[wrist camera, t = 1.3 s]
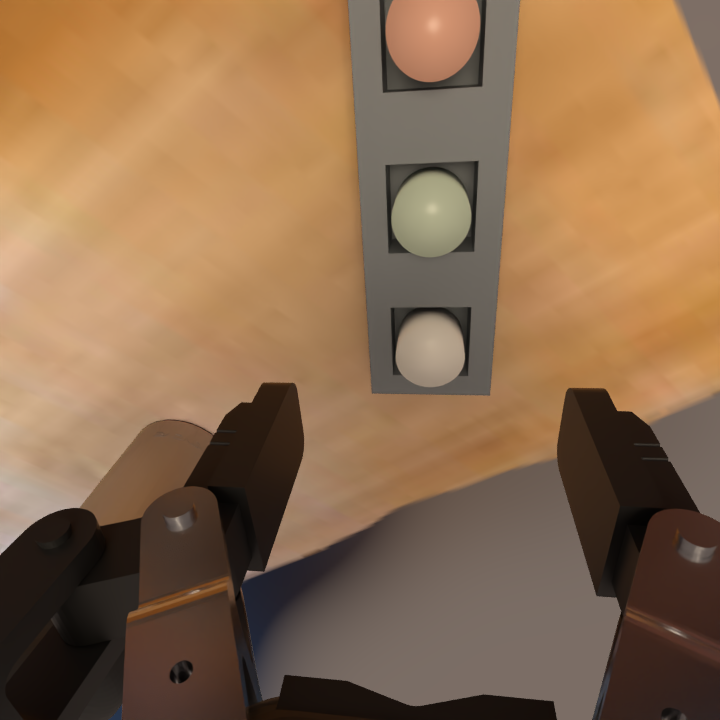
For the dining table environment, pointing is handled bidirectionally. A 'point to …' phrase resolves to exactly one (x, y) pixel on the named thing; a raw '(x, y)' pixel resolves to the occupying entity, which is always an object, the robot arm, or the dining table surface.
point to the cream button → (430, 347)
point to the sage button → (431, 212)
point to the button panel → (433, 149)
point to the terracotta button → (432, 36)
